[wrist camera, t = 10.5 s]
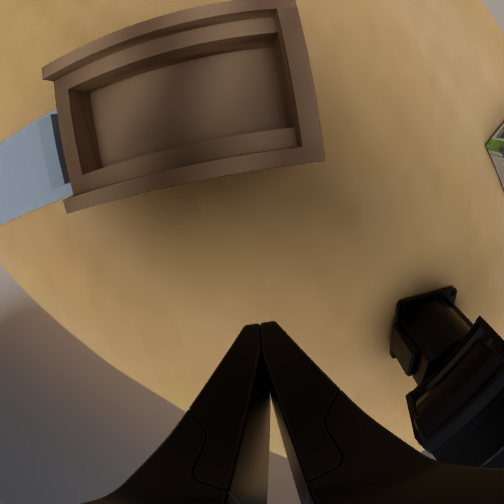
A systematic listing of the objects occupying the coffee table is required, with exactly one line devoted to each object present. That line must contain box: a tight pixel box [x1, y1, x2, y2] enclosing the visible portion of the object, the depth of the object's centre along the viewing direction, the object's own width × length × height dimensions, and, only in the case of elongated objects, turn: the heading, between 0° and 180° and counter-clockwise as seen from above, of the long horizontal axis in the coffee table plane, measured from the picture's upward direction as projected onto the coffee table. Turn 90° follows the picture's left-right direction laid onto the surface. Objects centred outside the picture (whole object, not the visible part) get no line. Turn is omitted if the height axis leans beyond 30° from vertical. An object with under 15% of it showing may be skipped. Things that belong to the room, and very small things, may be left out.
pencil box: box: [42, 0, 325, 214], centre depth 14 cm, size 14×9×5 cm, turn 99°
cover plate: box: [0, 109, 73, 225], centre depth 16 cm, size 12×7×3 cm, turn 100°
